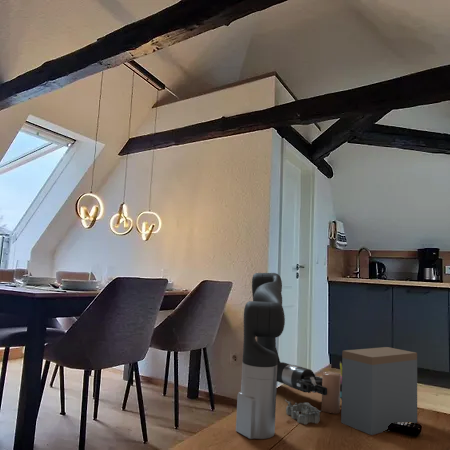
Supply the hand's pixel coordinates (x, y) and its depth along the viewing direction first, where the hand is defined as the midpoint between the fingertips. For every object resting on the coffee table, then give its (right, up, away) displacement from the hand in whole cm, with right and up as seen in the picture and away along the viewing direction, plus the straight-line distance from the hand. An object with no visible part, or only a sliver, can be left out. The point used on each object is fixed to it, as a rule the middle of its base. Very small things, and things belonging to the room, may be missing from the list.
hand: (335, 390), depth 125 cm
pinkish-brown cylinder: (-1, -7, +1) cm, 7 cm away
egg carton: (-12, -5, -7) cm, 15 cm away
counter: (+11, -6, -8) cm, 15 cm away
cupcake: (+8, -9, +17) cm, 21 cm away
